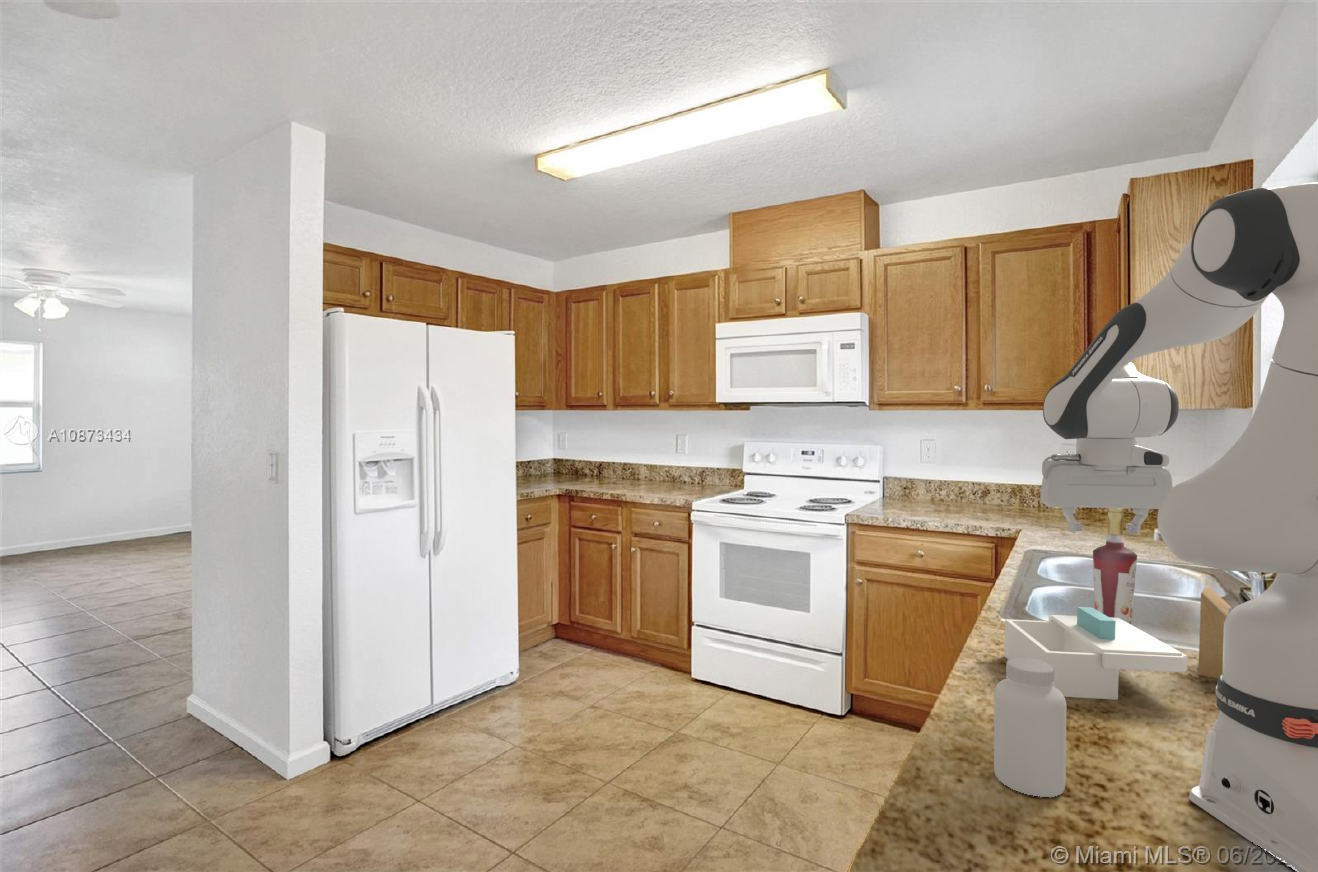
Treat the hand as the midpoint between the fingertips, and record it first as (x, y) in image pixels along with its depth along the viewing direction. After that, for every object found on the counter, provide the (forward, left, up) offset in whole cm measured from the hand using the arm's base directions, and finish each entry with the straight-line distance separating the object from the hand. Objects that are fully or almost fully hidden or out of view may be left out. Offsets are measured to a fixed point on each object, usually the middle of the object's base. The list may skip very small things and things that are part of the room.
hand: (1103, 533), depth 118 cm
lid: (-1, -1, -20) cm, 20 cm away
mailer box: (-1, +8, -26) cm, 27 cm away
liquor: (+17, -10, -26) cm, 32 cm away
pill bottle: (-38, +27, -26) cm, 53 cm away
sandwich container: (+2, -27, -26) cm, 37 cm away
